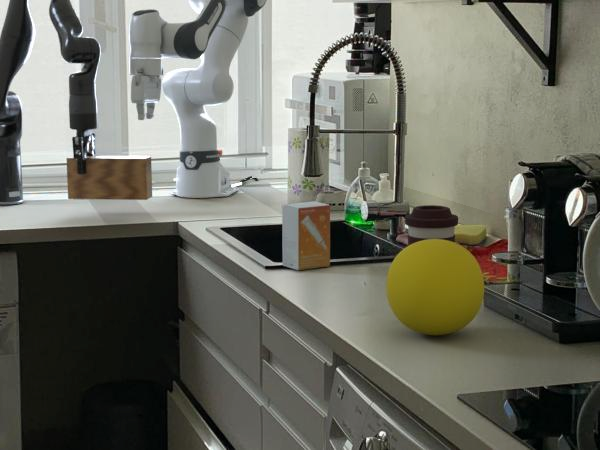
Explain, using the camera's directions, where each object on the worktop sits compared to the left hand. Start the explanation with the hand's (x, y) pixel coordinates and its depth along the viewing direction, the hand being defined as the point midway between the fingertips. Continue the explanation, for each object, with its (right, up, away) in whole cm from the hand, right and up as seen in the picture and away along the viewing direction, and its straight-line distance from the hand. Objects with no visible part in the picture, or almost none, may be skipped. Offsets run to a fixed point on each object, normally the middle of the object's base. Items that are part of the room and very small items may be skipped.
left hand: (85, 172), depth 287 cm
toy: (+80, -32, -122) cm, 149 cm away
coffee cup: (+84, -26, -89) cm, 125 cm away
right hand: (+16, +15, +3) cm, 22 cm away
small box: (+60, -23, -70) cm, 95 cm away
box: (+7, -7, 0) cm, 10 cm away
